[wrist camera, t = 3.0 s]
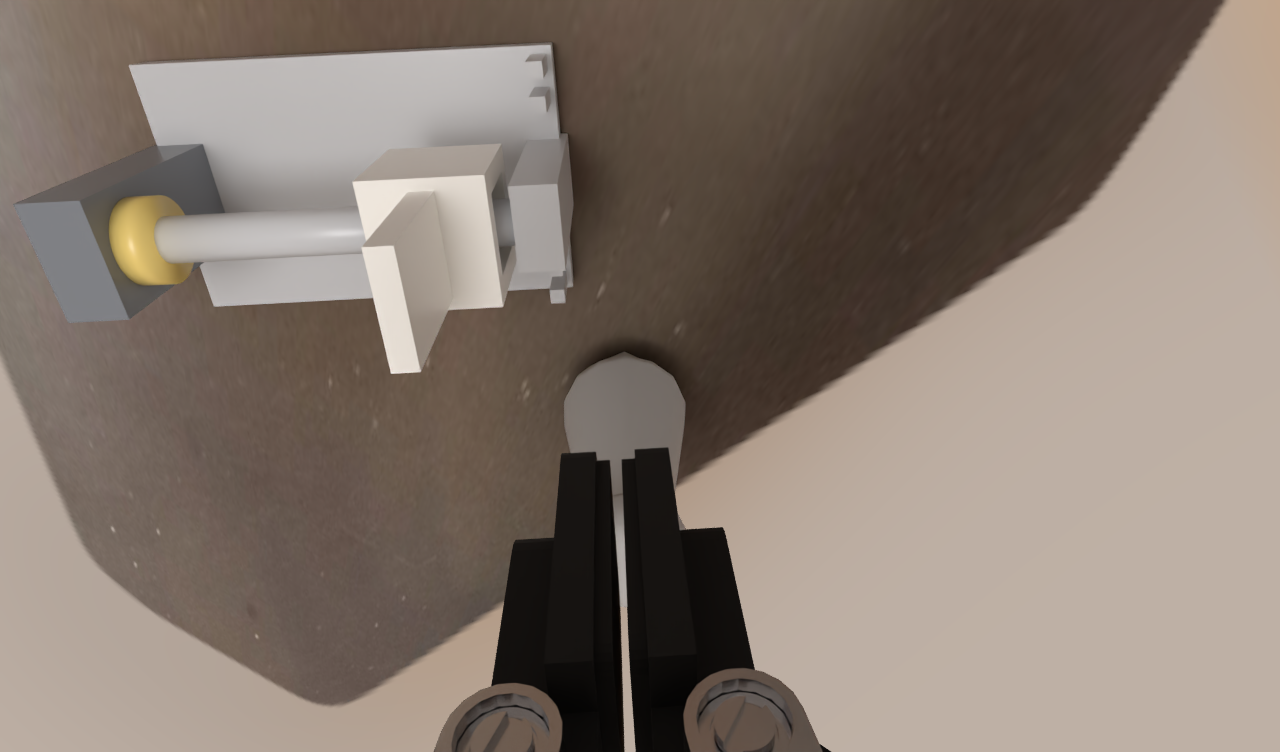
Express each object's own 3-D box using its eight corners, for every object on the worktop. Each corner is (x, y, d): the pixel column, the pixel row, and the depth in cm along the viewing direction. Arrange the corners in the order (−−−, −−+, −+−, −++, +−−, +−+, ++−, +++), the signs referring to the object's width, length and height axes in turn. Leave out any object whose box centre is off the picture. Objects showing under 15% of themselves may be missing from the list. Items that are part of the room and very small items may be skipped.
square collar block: (501, 143, 26) (455, 226, 18) (516, 260, 29) (481, 381, 20) (388, 149, 26) (292, 235, 18) (412, 265, 28) (335, 389, 20)
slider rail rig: (559, 41, 29) (543, 72, 21) (580, 278, 34) (573, 373, 26) (137, 62, 29) (-35, 100, 21) (219, 297, 34) (104, 399, 26)
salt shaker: (597, 317, 35) (595, 487, 24) (701, 364, 37) (745, 545, 25) (547, 411, 38) (523, 605, 26) (646, 451, 39) (664, 651, 28)
